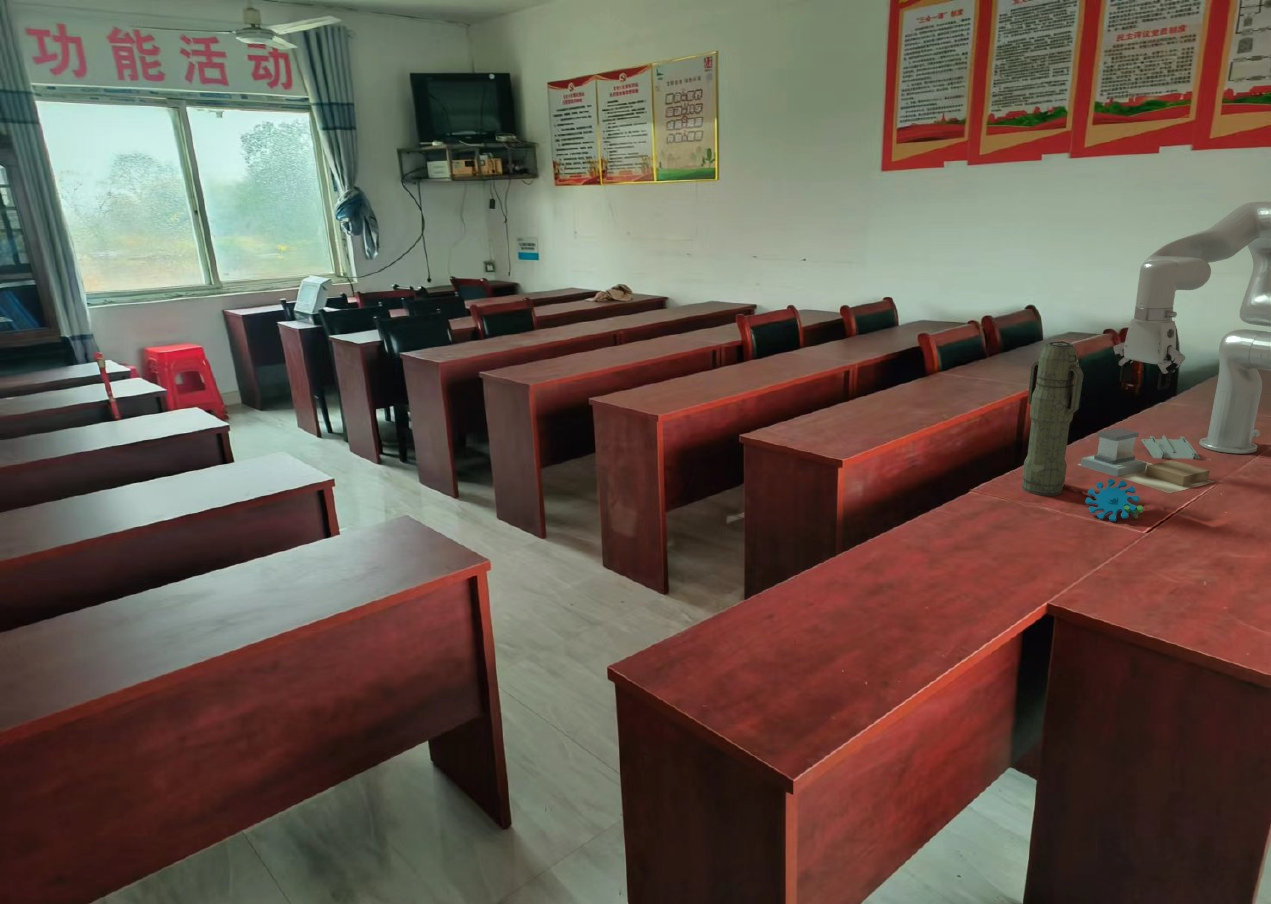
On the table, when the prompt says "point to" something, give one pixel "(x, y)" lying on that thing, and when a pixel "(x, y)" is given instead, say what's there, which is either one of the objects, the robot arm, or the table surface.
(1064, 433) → the thermos
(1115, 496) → the gear
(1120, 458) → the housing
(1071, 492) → the table surface
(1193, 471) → the stand
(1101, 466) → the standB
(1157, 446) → the metal bracket
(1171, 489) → the board
